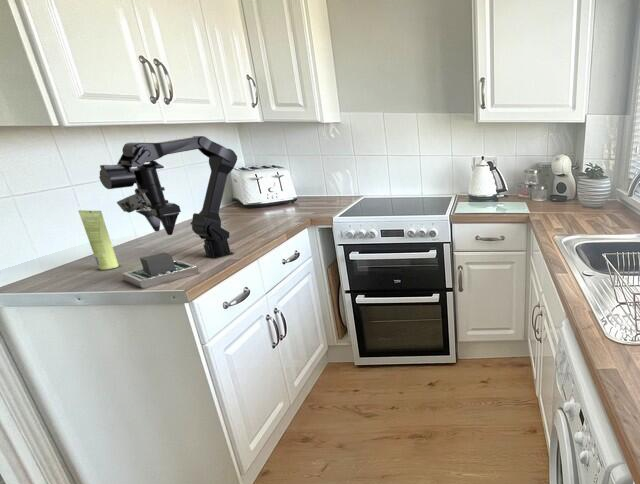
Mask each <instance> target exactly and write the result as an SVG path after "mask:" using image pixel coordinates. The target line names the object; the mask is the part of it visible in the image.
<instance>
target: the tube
mask: <svg viewBox="0 0 640 484" xmlns="http://www.w3.org/2000/svg"><path fill="white" fill-rule="evenodd" d="M77 212H78V214H79V217H80V219H81V222H82V225H83V228H84V231H85V234H86V236H87V239H88V242H89V244H90V248H91V251H92V254H93V256H94V260H95V262H96V265H97V268H98V270H101V271H105V270H111V269H112V270H113V269H116V268H118V267H119V261H118V259H117V257H116V252H115V249H114V247H113V245H112V242H111V241H112V240H111V238H110V235H109V232H108V229H107V225H106V223H105V219H104V216H103V212H102V210H87V209H86V210H85V209H84V210H83V209H78V210H77Z"/></svg>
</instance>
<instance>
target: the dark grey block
mask: <svg viewBox="0 0 640 484" xmlns="http://www.w3.org/2000/svg"><path fill="white" fill-rule="evenodd" d="M139 261H140V263H141V266H142V268H143V269H144V272H145V273H146V274H148V275H151V276H153V275H156V274H160V273H164V272H168V271H172V270H176V268H175V265H174V261H175V260H174V259H173V255H172V254H171V253H167V252H160V253H155V254H151V255H147V256H142V257H139Z"/></svg>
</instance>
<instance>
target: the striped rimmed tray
mask: <svg viewBox="0 0 640 484" xmlns="http://www.w3.org/2000/svg"><path fill="white" fill-rule="evenodd" d="M173 261H174V265H175V268H176V270H172V271H168V272H164V273H160V274H156V275H153V276H151V275H148V274H146V273H145V272H144V269H143V267H142V268H138V269H134V270H130V271H125V272H122V273H121V275H122V278H123V280H124V282H126V283H129V284H131V285H133V286H135V287H138V288H140V289H143V290H144V289H147V288H150V287H155V286H158V285H161V284H164V283H168V282H169V283H170V282H172V281H176V280H180V279H183V278H187V277H190V276H195V275H198V274H199V270H198V267H197V265H195V264H191V263H189V262H185V261H183V260H179V259H176V260H173Z"/></svg>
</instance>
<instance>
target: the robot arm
mask: <svg viewBox="0 0 640 484" xmlns="http://www.w3.org/2000/svg"><path fill="white" fill-rule="evenodd" d="M195 150H198V151H199V152H200V153H201V154H203V155H204V156H206V157H207V158H208V164H209V168H210V175H209V180H208V183H207V188H206V192H205V196H204V199H203V204H202V208H201V210H200V212H199V213H196V212H194V213H193V214H192V220H191V222H190V225H191V230H192V231H193V233H194V234H196V235H197V236H198V237H199V238H200V239H201V240H203V248H204V252H205V254H204V255H205V256H206V257H209V258H213V259H217V258H221V257H224V256H229V255H233V254H234V252H233V251H231V249H230V245H229V241H228V239H230V234H231V233H230V232H229V231H228V230H226V229H224V228H222V219H221V216H220V208H221V204H222V200H223V196H224V192H225V189H226V183H227V180H228V176H229V174H230V173H231V172H232V171H233V170H234V168H235V166H236V164H237V162H238V155H237V154H236V152H235V151H234V150H233V149H231V148H226V147H225V146H224V145H221V144H219V143H217V142H215V141H212V140H211V139H209V138H208V137H207V136H204V135H193V136H191V137H186V138H177V139H171V140H165V141H160V142H159V141H158V142H126V143H125V144H124V145H123V146H122V154H121V156H120V158H119V159H118V162H117V163H116V164H100V165H99V169H100V170H99V176H98V178H99V180H100V183H101V185H102V186H103V187H104V188H105V189H107V190H114V189H115V190H116V189H123V188H130V187H131V188H132V187H133V186H135V184H136V188H135V189H134V193H133V194H132V195H129V196H127V197H124V198H122V199H120V200H118V201H116V204H117V205H118V206H119V208H120V209H121V210H122V211H123V212H124V213H132V212H136V213H137V214H140V215H142V216H143V217H144V218H145V219H146V220H147V222H148V224H149V225H150V226H151V228H152V229H153V231H154V232H156V233H157V232H160V230H161V225H162V227H163V229H164V231H165V233H166V235H167V236H172V235H173V234H174V230H175V225H176V222H177V220H178V216H179V215H180V213H181V212H182V211H181V207H180V205H179V204H177V203H175V202H169V200H168V199H166V198H165V194H164V191H166V189H165V187H164V186H162V184H161V181H160V177H159V174H158V171H157V170H158V169H159V170H160V169H164V168H165V167H164V166H163V165H162V164H160V163H158V162H157V161H156V160H159V159H161V158H163V157H165V156H167V155H173V154H179V153H184V152H189V151H195Z"/></svg>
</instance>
